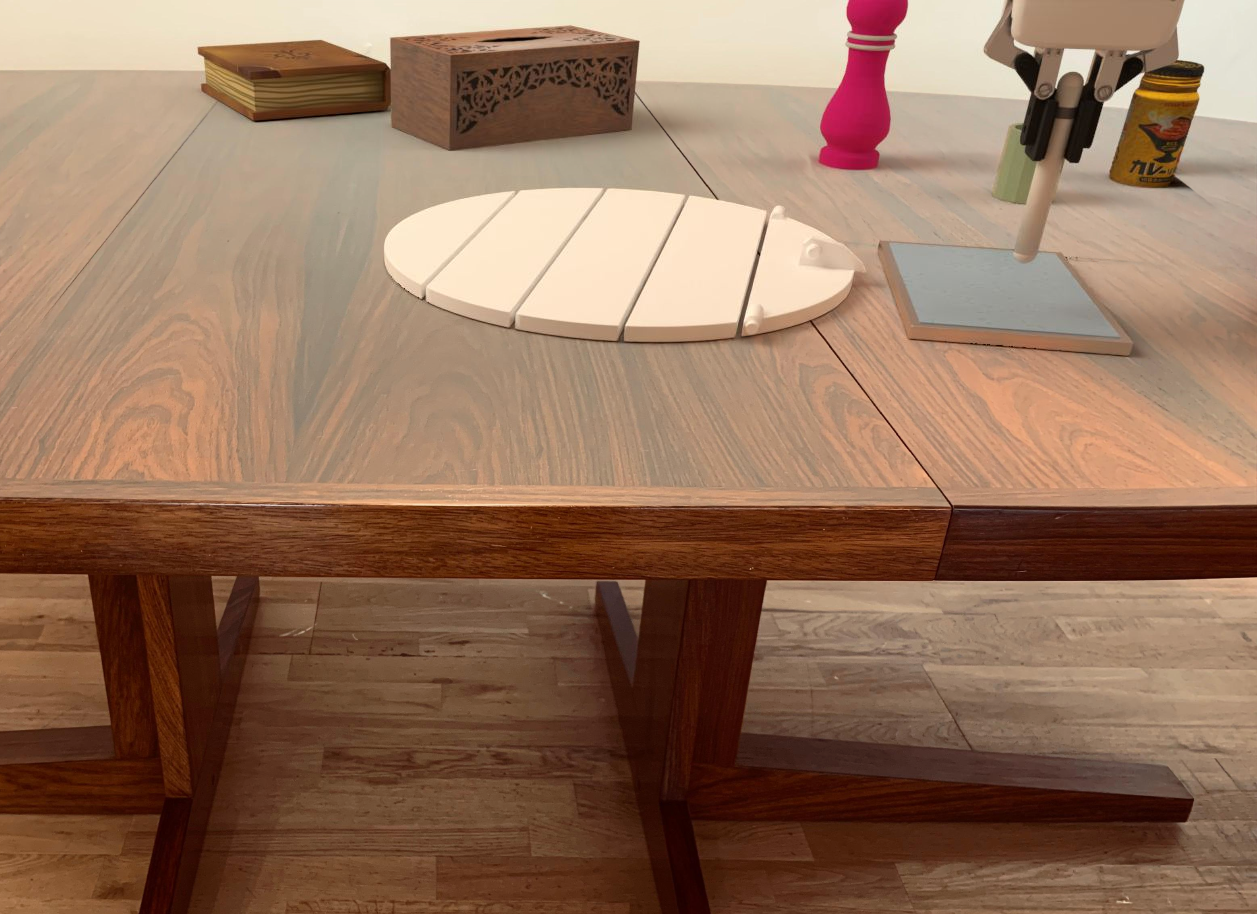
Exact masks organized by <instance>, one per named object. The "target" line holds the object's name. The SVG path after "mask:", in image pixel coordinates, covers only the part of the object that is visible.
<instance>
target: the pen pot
mask: <svg viewBox="0 0 1257 914" xmlns="http://www.w3.org/2000/svg"><path fill="white" fill-rule="evenodd" d="M1023 123H1024V122H1017V123H1012V124H1011V125H1009V126H1008V129H1007V133H1006V137H1005V141H1004V144H1003V149H1002V152H1001V156H1000V160H999V164H998V168H997V172H996V176H995V181H994V185H993V188H992V191H991V195H992V196H993V198H994V199H997V200H999V201H1003V202H1006V203H1011V204H1017V205H1024V206H1026V202H1027V198H1028V195H1029V191H1030V187H1031V183H1032V179H1033V176H1034V172H1035V168H1036V164H1037V161H1032V160H1031V159H1030V158H1029V157H1028V156H1027V155H1026V154H1025V146H1024V145H1021V144H1020V136H1021V131H1022V127H1023ZM1065 161H1066V159H1065V158H1063V162H1062V166H1061V169H1060V173H1059V177H1058V180H1057V184H1056V188H1055V191H1054V195H1053V199H1052V202H1054V199H1055V196H1056V193H1057V189H1058V186H1059V184H1060V183H1059V182H1060V179H1061V175H1062V172H1063V169H1064V164H1065Z"/></svg>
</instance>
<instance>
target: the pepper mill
mask: <svg viewBox="0 0 1257 914" xmlns="http://www.w3.org/2000/svg"><path fill="white" fill-rule="evenodd" d="M908 9H909V0H848V1H847V5H846V10H845V11H846V12H845V13H846V15H845V16H846V19H847V21H848V23H849V25H850V27H851V30H849V31H848V32H847V33H846V36H847V38H846V41H845V43H844V45H845V47H847V48H848V51H847V52H848V53H847V61H846V67H845V71H844V74H843V76H842V79H841V82H840V84H839V85H838V87H837V89H836V91H835V92H834V94H833V95H832V97H831V98H830V100H829V101H828V103H827V105H826V107H825V109H824V110H823V113H822V117H821V120H820V125H819V130H820V133H821V135H822V137H823V139H824V140H825V142H826V145H825V146H822V147H821V148H820V149H819V156H818V163H819V164H820V165H822V166H824V167H827V168H828V167H829V168H833V169H838V170H846V171H868V170H874V169H876V168H878V165H879V161H880V157H881V154H880V152H879V150H877V147H878V145H880V144H881V143H882V142H883V141H884V140H885V139H887V137H888V136H889V133H890V129H891V123H892V122H891V121H892V118H891V117H892V116H891V108H890V103H889V100H888V95H887V90H886V83H885V80H886V79H885V77H886V76H885V75H886V69H887V63H888V59H889V56H890V52H891V51H892V50H894V49H895V48H896V44H895V43H896V40H897V38H898V34H897V33H895V31H896V30H897V28H898V27H899V26H900V25H901V24H902V23H903V22H904V20H905V19H906V17H907V13H908Z"/></svg>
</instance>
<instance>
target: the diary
mask: <svg viewBox="0 0 1257 914" xmlns="http://www.w3.org/2000/svg"><path fill="white" fill-rule="evenodd" d="M197 55H198V56H201V57H203V61H204V63H203V64H204V71H205V73H204V74H205V82H204V83H200V88H201V90H200V91H201V92H203V93H205V94H206V95H208V96H210V97H212V98H214V99H215V100H217V101H219V102H221V103H222V104H224V105H226V106H227V107H229V108H231V109H232V110H234V111H236V112H238V113H240V114H241V115H243V116H244V117H246V118H248V119H250V120H252V121H265V120H277V119H290V118H291V119H292V118H301V117H303V118H304V117H312V116H313V117H314V116H326V115H337V114H339V115H340V114H350V113H364V112H372V111H374V112H375V111H386V110H388V108H389V107H390V106H391V67H390V66H389V65H388V64H387V63H386V62H385V61H382V60H379V59H375V58H372V57H370V56H367V55H364V54H361V53H360V52H356V51H354V50H351V49H348V48H345V47H342V46H340V45H336V44H333V43H331V42H328V41H326V40H323V39H312V40H294V41H292V40H291V41H277V42H276V41H275V42H260V43H241V44H240V43H239V44H225V45H205V46H197Z"/></svg>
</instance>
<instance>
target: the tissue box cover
mask: <svg viewBox="0 0 1257 914" xmlns="http://www.w3.org/2000/svg"><path fill="white" fill-rule="evenodd" d="M640 43H641V42H640V40H638V39H634V38H629V37H626V36H625V37H624V36H620V35H616V34H612V33H606V32H601V31H598V30H593V29H589V28H585V27H580V26H575V25H572V24H571V25H570V24H569V25H555V26H543V27H528V28H527V27H526V28H512V29H497V30H482V31H481V30H480V31H468V32H452V33H438V34H421V35H409V36H408V35H407V36H394V37H389V46H390V47H389V49H390V50H389V53H390V56H389V57H390V59H389V60H390V69H391V104H390V127H391V128H394V129H396V130H398V131H401V132H403V133H406V134H408V135H411V136H412V137H416V138H418V139H420V140H423V141H426V142H428V143H430V144H433V145H435V146H437V147H440V148H442V149H445V150H447V151H458V150H466V149H475V148H483V147H492V146H498V145H499V146H500V145H501V146H502V145H508V144H518V143H519V144H520V143H528V142H535V141H543V140H551V139H561V138H562V139H563V138H570V137H578V136H588V135H595V134H596V135H597V134H607V133H614V132H622V131H630V130H631V131H632V128H633V120H634V119H633V118H634V108H635V95H636V85H637V74H638V64H639V63H638V62H639V51H640V50H639V49H640Z"/></svg>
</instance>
